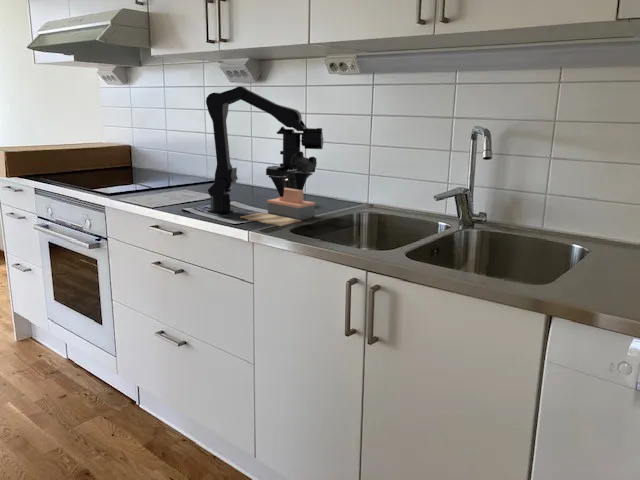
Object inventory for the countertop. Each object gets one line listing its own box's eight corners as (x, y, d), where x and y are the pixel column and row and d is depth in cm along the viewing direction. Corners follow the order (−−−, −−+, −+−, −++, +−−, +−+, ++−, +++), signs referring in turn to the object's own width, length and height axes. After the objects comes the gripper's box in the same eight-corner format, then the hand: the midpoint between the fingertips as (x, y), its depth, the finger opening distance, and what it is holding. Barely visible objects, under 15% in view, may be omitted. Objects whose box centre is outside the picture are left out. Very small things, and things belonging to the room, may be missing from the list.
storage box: (268, 213, 189) (268, 202, 188) (283, 210, 195) (283, 199, 194) (298, 220, 181) (299, 208, 180) (314, 216, 187) (314, 204, 186)
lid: (267, 205, 188) (267, 188, 187) (283, 202, 195) (283, 185, 193) (299, 211, 180) (299, 193, 178) (315, 207, 186) (315, 190, 185)
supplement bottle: (290, 200, 214) (291, 169, 212) (304, 203, 210) (304, 171, 207) (278, 203, 209) (278, 171, 206) (292, 205, 205) (292, 173, 202)
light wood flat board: (240, 217, 182) (240, 216, 182) (261, 213, 190) (261, 212, 189) (280, 226, 171) (280, 225, 171) (301, 221, 179) (301, 220, 179)
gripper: (290, 151, 170) (290, 201, 174) (328, 148, 185) (326, 194, 188) (264, 149, 177) (264, 197, 181) (302, 146, 191) (302, 190, 195)
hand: (290, 195), depth 186 cm, fingers open, 9 cm apart
